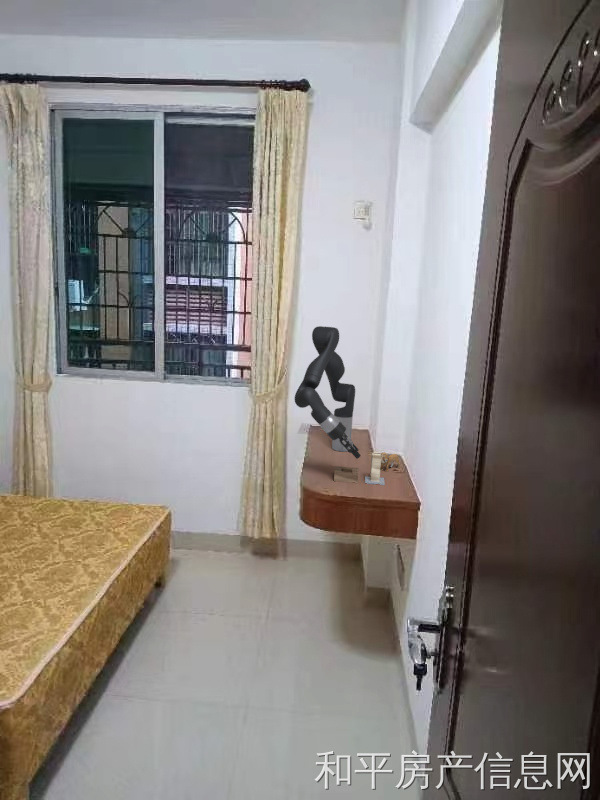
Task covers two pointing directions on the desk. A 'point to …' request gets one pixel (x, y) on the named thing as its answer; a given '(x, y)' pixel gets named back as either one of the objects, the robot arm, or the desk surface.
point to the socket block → (346, 474)
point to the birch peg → (375, 467)
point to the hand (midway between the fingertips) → (357, 454)
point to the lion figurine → (389, 460)
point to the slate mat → (368, 481)
